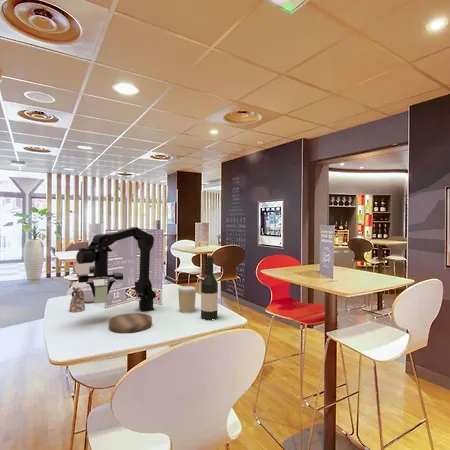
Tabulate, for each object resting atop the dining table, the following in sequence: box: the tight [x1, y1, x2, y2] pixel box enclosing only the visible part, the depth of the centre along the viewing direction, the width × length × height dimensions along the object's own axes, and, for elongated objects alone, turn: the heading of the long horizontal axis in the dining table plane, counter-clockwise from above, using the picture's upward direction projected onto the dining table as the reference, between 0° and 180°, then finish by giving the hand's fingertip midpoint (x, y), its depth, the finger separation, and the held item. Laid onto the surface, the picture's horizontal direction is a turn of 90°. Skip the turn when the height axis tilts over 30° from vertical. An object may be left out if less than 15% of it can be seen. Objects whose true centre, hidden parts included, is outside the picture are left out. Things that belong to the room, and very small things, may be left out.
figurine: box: [69, 286, 86, 313], centre depth 156 cm, size 7×7×12 cm
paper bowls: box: [79, 284, 100, 303], centre depth 177 cm, size 15×15×8 cm
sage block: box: [93, 284, 108, 304], centre depth 138 cm, size 5×5×7 cm
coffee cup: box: [177, 285, 197, 313], centre depth 158 cm, size 9×9×12 cm
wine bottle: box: [200, 255, 219, 321], centre depth 146 cm, size 8×8×30 cm
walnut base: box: [108, 312, 153, 334], centre depth 133 cm, size 18×18×3 cm
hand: (100, 296), depth 138 cm, fingers closed on sage block, 5 cm apart
